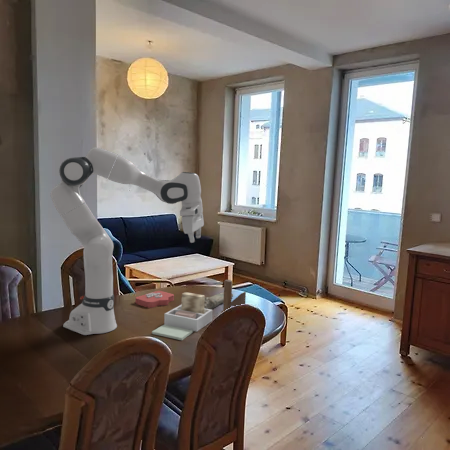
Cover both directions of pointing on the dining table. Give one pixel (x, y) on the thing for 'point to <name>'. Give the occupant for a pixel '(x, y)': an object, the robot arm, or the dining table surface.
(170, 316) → the white open box
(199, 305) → the birch board
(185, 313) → the upper offcut
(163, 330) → the sage pad
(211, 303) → the elongated rock
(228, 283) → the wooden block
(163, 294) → the plaque
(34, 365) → the dining table surface
